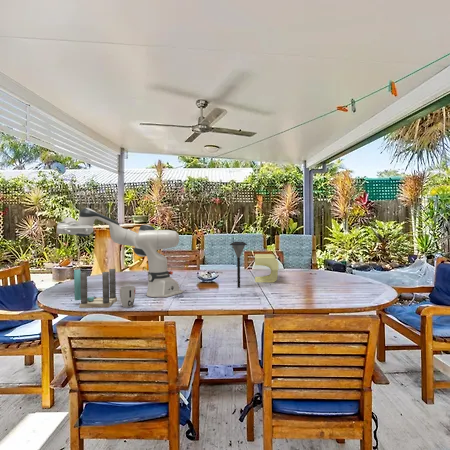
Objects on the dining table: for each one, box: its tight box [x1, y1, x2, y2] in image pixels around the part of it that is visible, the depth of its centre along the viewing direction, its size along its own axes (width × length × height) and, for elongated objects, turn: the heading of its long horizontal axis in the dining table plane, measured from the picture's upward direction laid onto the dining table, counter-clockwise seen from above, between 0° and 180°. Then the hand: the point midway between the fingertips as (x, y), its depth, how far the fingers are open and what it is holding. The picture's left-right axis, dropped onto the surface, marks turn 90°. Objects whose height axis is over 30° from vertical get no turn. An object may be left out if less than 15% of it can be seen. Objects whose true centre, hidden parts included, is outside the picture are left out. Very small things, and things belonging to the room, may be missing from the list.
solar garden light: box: [229, 241, 248, 289], centre depth 228 cm, size 12×12×30 cm
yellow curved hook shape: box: [254, 253, 280, 283], centre depth 253 cm, size 30×16×18 cm, turn 175°
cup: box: [119, 285, 136, 309], centre depth 182 cm, size 8×8×10 cm
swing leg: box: [73, 269, 95, 301], centre depth 186 cm, size 11×3×16 cm, turn 76°
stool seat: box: [78, 268, 118, 309], centre depth 188 cm, size 16×16×18 cm
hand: (77, 232), depth 203 cm, fingers open, 8 cm apart
